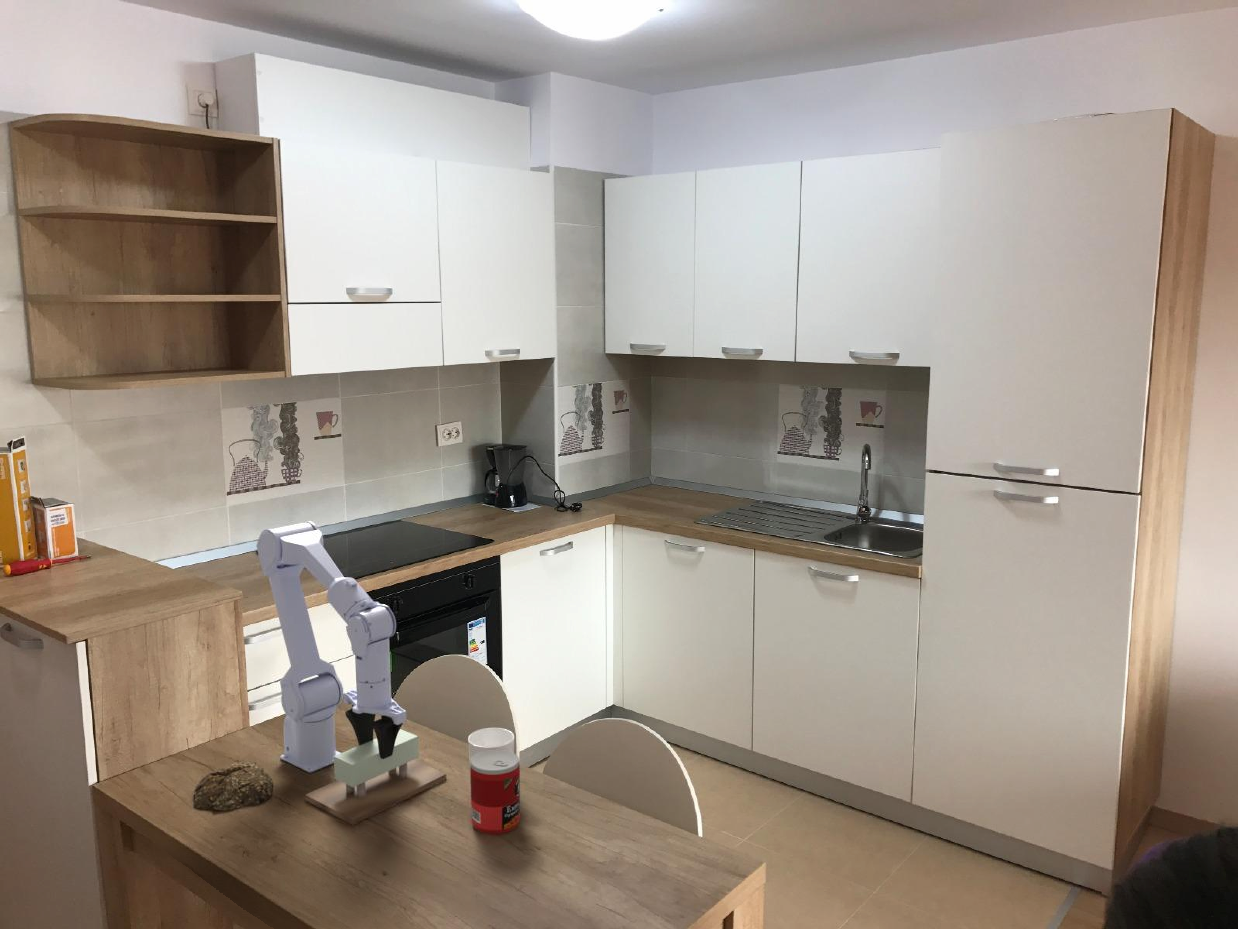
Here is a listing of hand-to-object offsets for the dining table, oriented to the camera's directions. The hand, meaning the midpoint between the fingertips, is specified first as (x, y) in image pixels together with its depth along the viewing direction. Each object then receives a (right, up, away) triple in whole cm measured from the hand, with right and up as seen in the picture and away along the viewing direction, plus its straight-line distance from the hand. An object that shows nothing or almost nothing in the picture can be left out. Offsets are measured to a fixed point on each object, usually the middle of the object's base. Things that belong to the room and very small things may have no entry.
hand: (376, 752), depth 170 cm
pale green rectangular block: (0, -3, +1) cm, 3 cm away
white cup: (+20, -7, +1) cm, 21 cm away
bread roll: (-25, -8, 0) cm, 26 cm away
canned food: (+22, -9, -10) cm, 26 cm away
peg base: (0, -7, +1) cm, 7 cm away
